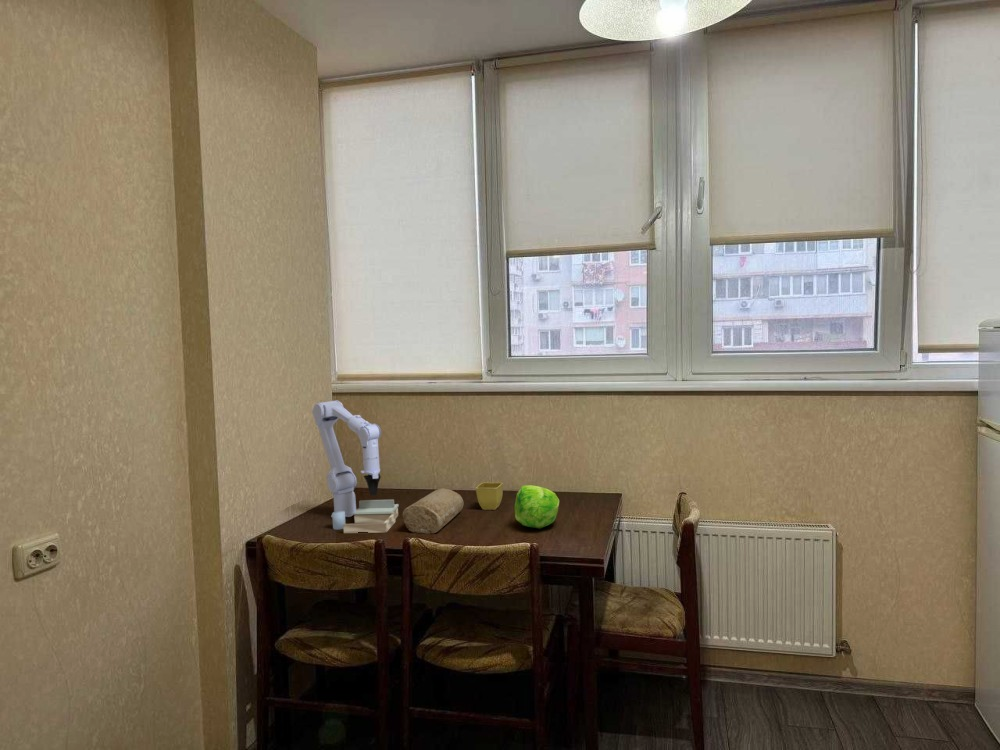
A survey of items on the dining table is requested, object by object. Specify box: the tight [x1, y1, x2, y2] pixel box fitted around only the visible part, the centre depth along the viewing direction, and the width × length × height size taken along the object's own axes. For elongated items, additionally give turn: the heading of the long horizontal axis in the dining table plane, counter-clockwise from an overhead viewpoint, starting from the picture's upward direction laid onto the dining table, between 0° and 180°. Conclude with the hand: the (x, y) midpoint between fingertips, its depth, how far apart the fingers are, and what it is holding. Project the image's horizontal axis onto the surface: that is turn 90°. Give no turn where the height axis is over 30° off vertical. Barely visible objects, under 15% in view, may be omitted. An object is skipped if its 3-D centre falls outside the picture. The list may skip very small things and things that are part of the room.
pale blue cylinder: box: [331, 511, 347, 531], centre depth 235 cm, size 4×4×6 cm
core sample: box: [402, 488, 465, 535], centre depth 235 cm, size 14×26×10 cm, turn 166°
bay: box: [343, 507, 399, 534], centre depth 237 cm, size 20×15×3 cm
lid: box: [354, 499, 399, 515], centre depth 244 cm, size 10×14×4 cm
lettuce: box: [514, 484, 560, 530], centre depth 225 cm, size 15×20×14 cm
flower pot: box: [474, 482, 504, 511], centre depth 251 cm, size 9×9×9 cm
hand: (373, 494), depth 241 cm, fingers closed
